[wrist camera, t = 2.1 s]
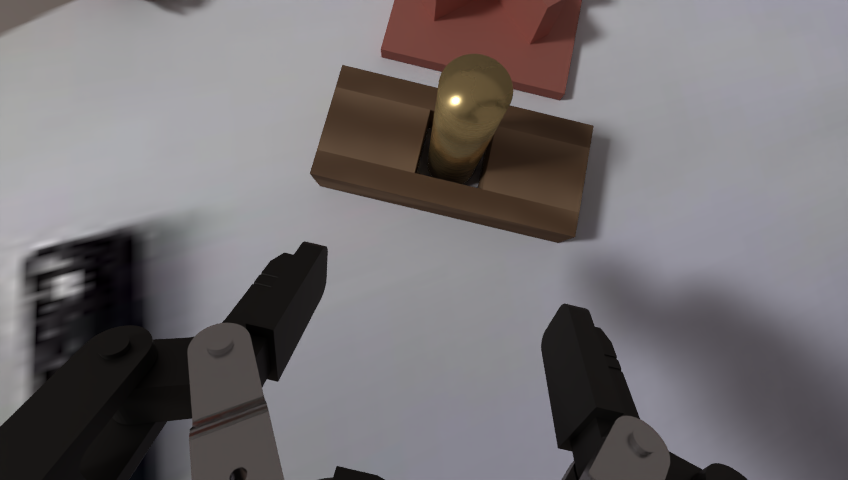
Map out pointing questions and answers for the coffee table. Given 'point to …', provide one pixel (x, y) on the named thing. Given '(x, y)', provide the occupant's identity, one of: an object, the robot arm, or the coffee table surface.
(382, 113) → the brown flat block
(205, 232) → the coffee table surface
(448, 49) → the V-block
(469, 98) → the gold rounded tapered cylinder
